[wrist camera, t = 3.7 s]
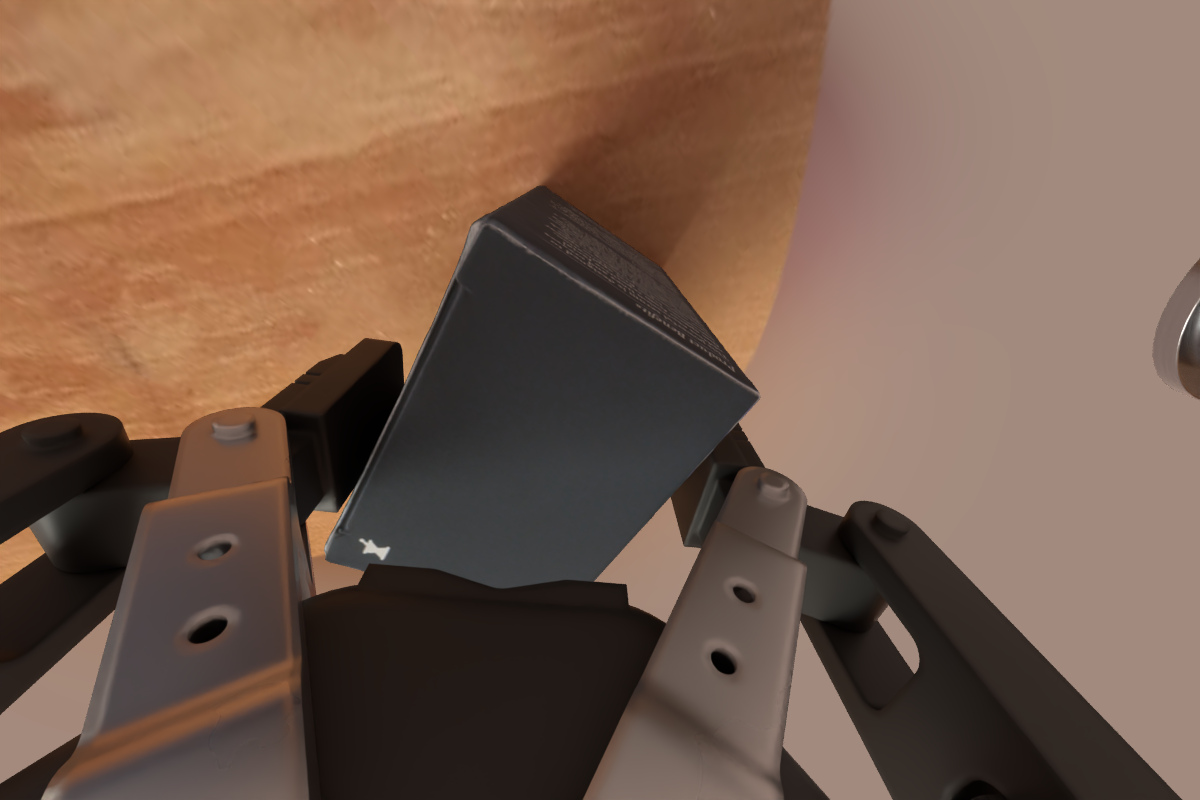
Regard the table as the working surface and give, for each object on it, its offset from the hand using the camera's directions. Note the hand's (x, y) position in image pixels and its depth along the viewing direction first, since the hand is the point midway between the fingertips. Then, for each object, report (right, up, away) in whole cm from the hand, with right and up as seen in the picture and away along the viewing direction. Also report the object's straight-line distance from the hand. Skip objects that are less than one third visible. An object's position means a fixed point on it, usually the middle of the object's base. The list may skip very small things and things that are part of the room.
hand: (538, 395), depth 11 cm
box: (0, +3, +6) cm, 7 cm away
